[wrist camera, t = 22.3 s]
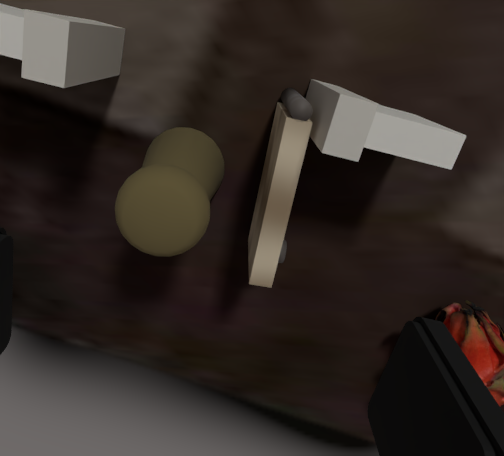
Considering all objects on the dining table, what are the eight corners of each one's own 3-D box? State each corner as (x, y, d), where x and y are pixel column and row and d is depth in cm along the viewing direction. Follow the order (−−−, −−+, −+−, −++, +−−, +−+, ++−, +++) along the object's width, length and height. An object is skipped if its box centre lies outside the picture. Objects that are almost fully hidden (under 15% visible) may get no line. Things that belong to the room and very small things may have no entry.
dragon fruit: (412, 384, 43) (429, 271, 40) (508, 419, 39) (537, 295, 36) (384, 431, 36) (403, 300, 33) (498, 481, 32) (531, 334, 29)
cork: (169, 217, 34) (137, 289, 24) (129, 148, 32) (75, 196, 22) (238, 185, 33) (235, 247, 23) (201, 112, 31) (180, 145, 21)
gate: (280, 86, 30) (290, 97, 23) (313, 92, 30) (331, 105, 24) (247, 239, 34) (248, 284, 28) (276, 244, 35) (283, 289, 28)
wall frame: (417, 107, 31) (489, 133, 22) (401, 147, 32) (464, 188, 23) (-31, -14, 28) (-168, -43, 18) (-31, 36, 29) (-160, 32, 20)
